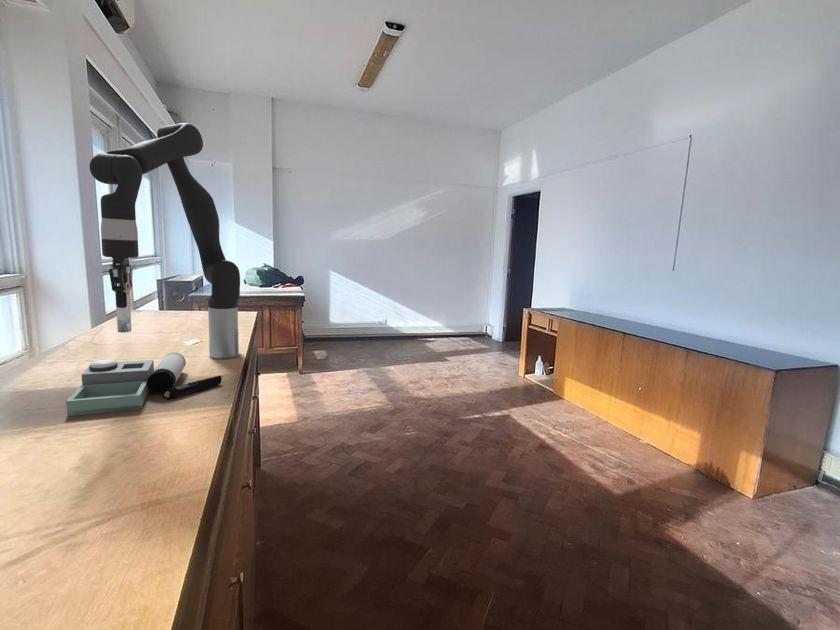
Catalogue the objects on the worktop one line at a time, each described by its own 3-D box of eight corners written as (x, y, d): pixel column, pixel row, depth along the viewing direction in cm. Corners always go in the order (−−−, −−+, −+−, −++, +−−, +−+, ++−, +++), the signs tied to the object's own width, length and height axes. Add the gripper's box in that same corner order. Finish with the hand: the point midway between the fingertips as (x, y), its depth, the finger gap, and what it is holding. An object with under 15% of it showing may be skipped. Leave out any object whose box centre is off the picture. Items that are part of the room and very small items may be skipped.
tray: (148, 393, 112) (147, 380, 111) (140, 409, 102) (140, 395, 102) (82, 398, 106) (81, 385, 106) (67, 416, 96) (66, 401, 96)
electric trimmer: (225, 387, 121) (225, 376, 121) (169, 401, 108) (169, 389, 108) (217, 384, 123) (216, 373, 123) (161, 398, 110) (161, 386, 110)
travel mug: (190, 356, 130) (179, 377, 112) (179, 375, 130) (166, 399, 112) (169, 347, 128) (154, 367, 110) (158, 367, 128) (141, 389, 109)
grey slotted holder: (154, 380, 122) (153, 355, 121) (148, 392, 113) (147, 365, 112) (94, 384, 116) (92, 358, 115) (83, 397, 107) (80, 369, 106)
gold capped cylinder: (132, 330, 113) (130, 287, 111) (130, 332, 110) (128, 289, 109) (119, 330, 112) (116, 287, 110) (116, 332, 109) (113, 288, 107)
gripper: (131, 239, 102) (135, 310, 105) (142, 238, 115) (145, 302, 118) (93, 237, 99) (97, 310, 102) (109, 236, 112) (112, 302, 115)
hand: (123, 305), depth 110 cm, fingers closed on gold capped cylinder, 3 cm apart
